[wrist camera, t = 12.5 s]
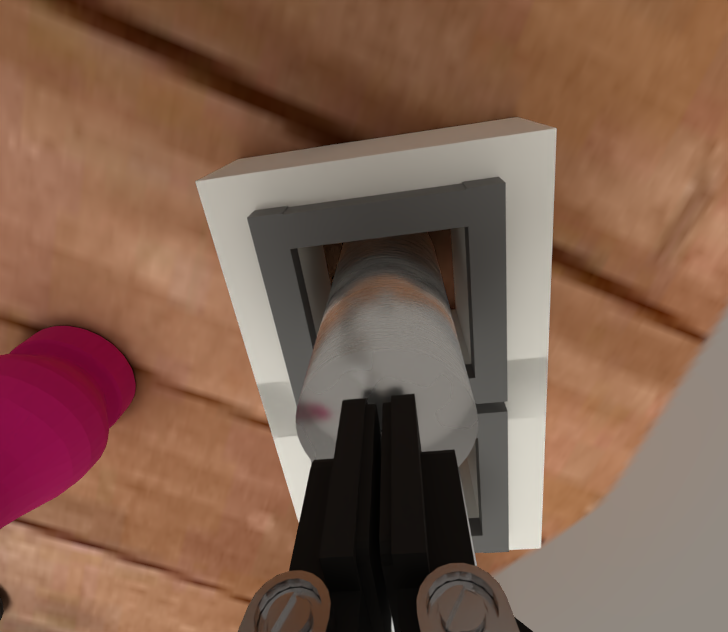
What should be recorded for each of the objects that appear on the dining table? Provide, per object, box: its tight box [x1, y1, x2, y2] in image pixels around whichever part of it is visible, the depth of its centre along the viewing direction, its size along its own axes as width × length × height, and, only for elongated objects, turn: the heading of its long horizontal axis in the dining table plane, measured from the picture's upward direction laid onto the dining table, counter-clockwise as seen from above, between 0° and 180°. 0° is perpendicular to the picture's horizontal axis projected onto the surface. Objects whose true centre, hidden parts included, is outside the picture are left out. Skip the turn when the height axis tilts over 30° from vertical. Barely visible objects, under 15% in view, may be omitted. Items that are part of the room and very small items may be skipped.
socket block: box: [195, 117, 557, 632], centre depth 19 cm, size 20×12×12 cm, turn 8°
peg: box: [296, 232, 478, 467], centre depth 17 cm, size 4×4×12 cm
